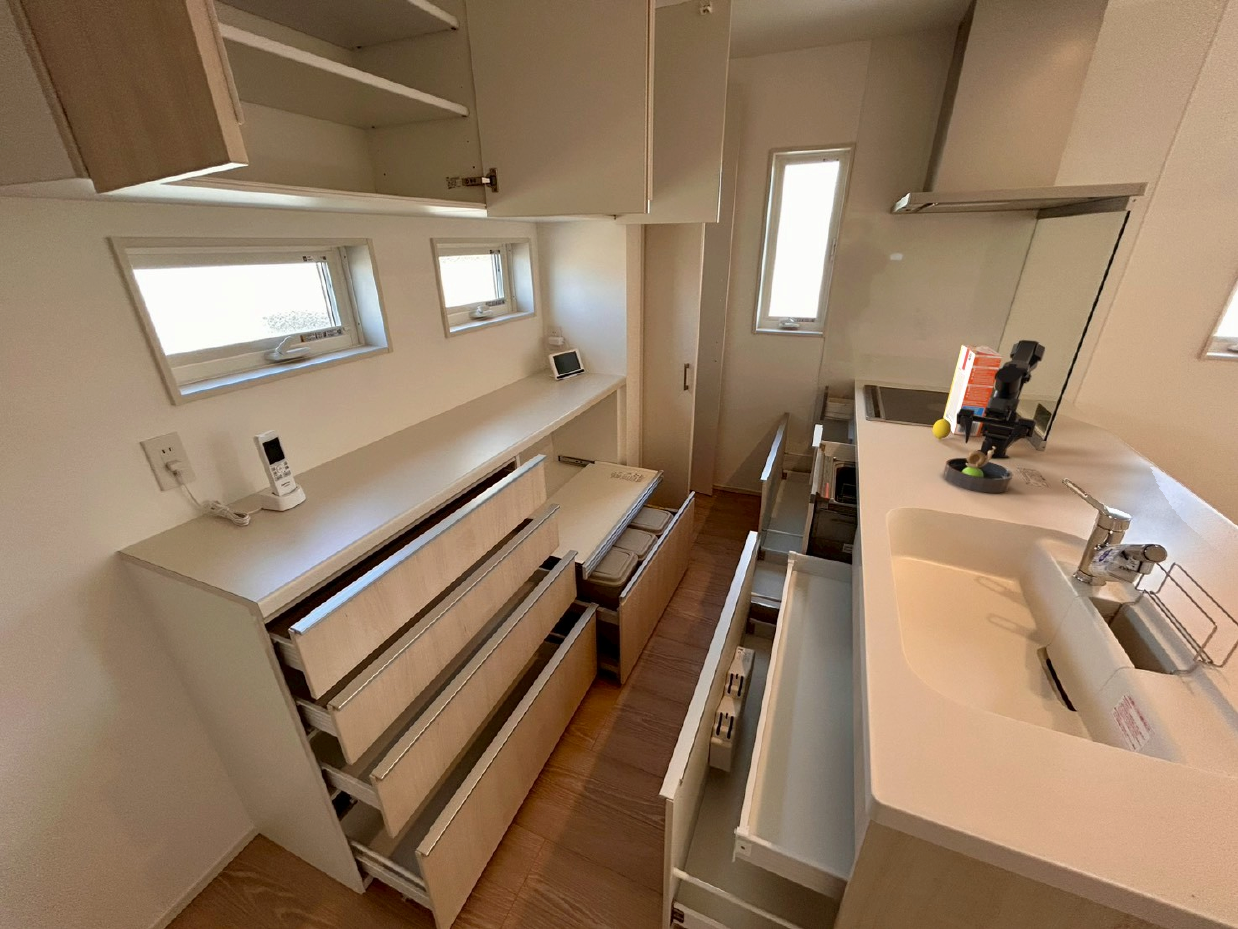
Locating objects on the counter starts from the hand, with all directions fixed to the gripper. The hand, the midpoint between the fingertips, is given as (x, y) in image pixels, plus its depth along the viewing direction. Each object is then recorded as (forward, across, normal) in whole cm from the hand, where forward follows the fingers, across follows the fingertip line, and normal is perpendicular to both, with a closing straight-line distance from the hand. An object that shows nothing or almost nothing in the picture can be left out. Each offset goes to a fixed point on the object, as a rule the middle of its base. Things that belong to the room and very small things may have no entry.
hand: (984, 446), depth 144 cm
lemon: (-17, -17, +32) cm, 40 cm away
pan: (+8, 0, +7) cm, 11 cm away
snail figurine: (+11, 0, +5) cm, 12 cm away
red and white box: (-33, -15, +48) cm, 60 cm away
